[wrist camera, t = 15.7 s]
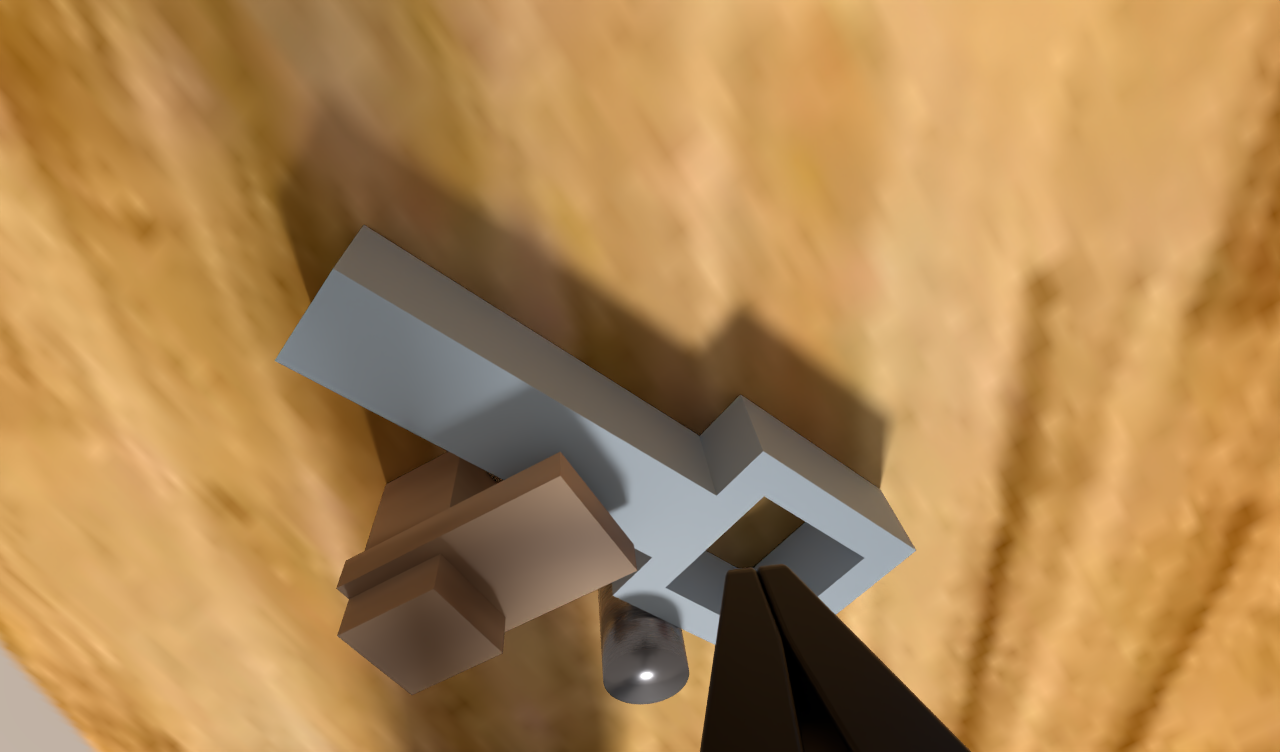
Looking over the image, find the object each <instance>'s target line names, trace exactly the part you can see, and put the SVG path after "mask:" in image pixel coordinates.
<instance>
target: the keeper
mask: <svg viewBox="0 0 1280 752" xmlns="http://www.w3.org/2000/svg"><path fill="white" fill-rule="evenodd" d="M635 571H637V564H636V556H635V548H634V544H633V543H632V542H631V540H630V539H629V538H628V536H627V535H626V534H625V533H624V531H623V530H622V529H621V528H620V526H619V525H618V524H617V523H616V521H615V520H614V519H613V517H612V516H611V515H610V514H609V512H608V511H607V510H606V509H605V507H604V506H603V505H602V504H601V502H600V501H599V500H598V499H597V497H596V496H595V495H594V493H593V492H592V491H591V490H590V488H589V487H588V486H587V485H586V483H585V482H584V481H583V480H582V478H581V477H580V476H579V475H578V473H577V472H576V471H575V469H574V468H573V467H572V466H571V464H570V463H569V462H568V461H567V459H566V458H565V457H564V456H563V454H562V453H561V452H558V453H556V454H554V455H552V456H551V457H549V458H547V459H545V460H543V461H541V462H539V463H537V464H535V465H533V466H531V467H529V468H527V469H525V470H523V471H521V472H519V473H517V474H515V475H513V476H511V477H509V478H507V479H505V480H503V481H501V482H500V483H498V484H497V483H496V482H495V481H494V480H493V479H492V478H491V477H490V476H489V474H488V473H487V472H486V471H485V470H483V469H481V468H479V467H478V466H476V465H474V464H472V463H470V462H468V461H466V460H464V459H462V458H460V457H458V456H456V455H455V454H453V453H451V452H449V451H448V452H447V453H445V454H443V455H441V456H439V457H437V458H435V459H433V460H431V461H429V462H428V463H426V464H424V465H422V466H420V467H418V468H416V469H414V470H412V471H410V472H409V473H407V474H405V475H403V476H401V477H399V478H397V479H395V480H393V481H391V482H390V483H388V484H386V486H385V489H384V492H383V495H382V498H381V501H380V505H379V508H378V511H377V514H376V517H375V520H374V523H373V526H372V529H371V532H370V536H369V539H368V542H367V545H366V548H365V551H364V552H362V553H360V554H358V555H356V556H354V557H352V558H350V559H348V560H347V561H346V562H345V565H344V568H343V571H342V574H341V576H340V579H339V582H338V585H337V588H336V589H338V590H339V591H340V592H341V593H342V594H344V595H345V596H346V597H347V598H348V599H349V601H348V604H347V607H346V610H345V613H344V616H343V620H342V623H341V626H340V629H339V632H338V635H337V636H338V637H339V638H341V639H342V640H343V641H344V642H346V643H347V644H348V645H349V646H351V647H352V648H353V649H354V650H356V651H357V652H358V653H359V654H361V655H362V656H363V657H365V658H366V659H367V660H368V661H370V662H371V663H372V664H373V665H375V666H376V667H377V668H378V669H380V670H381V671H382V672H383V673H385V674H386V675H387V676H388V677H390V678H391V679H392V680H393V681H395V682H396V683H397V684H399V685H400V686H401V687H402V688H404V689H405V690H406V691H407V692H409V693H410V694H411V695H413V694H415V693H417V692H420V691H422V690H424V689H426V688H428V687H431V686H433V685H435V684H437V683H439V682H441V681H444V680H446V679H448V678H450V677H452V676H454V675H457V674H459V673H461V672H463V671H465V670H468V669H470V668H472V667H474V666H476V665H478V664H481V663H483V662H485V661H487V660H489V659H492V658H494V657H496V656H498V655H500V654H502V653H503V645H504V633H505V632H506V631H509V630H511V629H513V628H515V627H517V626H519V625H521V624H524V623H526V622H528V621H530V620H532V619H534V618H536V617H539V616H541V615H543V614H545V613H547V612H549V611H552V610H554V609H556V608H558V607H560V606H562V605H564V604H567V603H569V602H571V601H573V600H575V599H577V598H580V597H582V596H584V595H586V594H588V593H590V592H592V591H595V590H597V589H599V588H601V587H603V586H605V585H608V584H610V583H612V582H614V581H616V580H618V579H620V578H623V577H625V576H627V575H629V574H631V573H633V572H635Z"/></svg>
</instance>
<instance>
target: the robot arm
mask: <svg viewBox="0 0 1280 752" xmlns="http://www.w3.org/2000/svg"><path fill="white" fill-rule="evenodd" d="M700 752H971V751H970V750H969V749H968V748H967V747H966V746H965V745H964V744H963V743H962V742H961V741H960V740H959V739H958V738H957V737H956V736H955V735H954V734H953V733H952V732H951V731H950V730H949V729H948V728H947V727H946V726H945V725H944V724H943V723H942V722H941V721H940V720H939V719H938V718H937V717H936V716H935V715H934V714H933V713H932V712H931V711H930V710H929V709H928V708H927V707H926V706H925V705H924V704H923V703H922V702H921V701H920V700H919V699H918V698H917V696H916V695H915V694H914V693H913V692H912V691H911V690H910V689H909V688H908V687H907V686H906V685H905V684H904V683H903V682H902V681H901V680H900V679H899V678H898V677H897V676H896V675H895V674H894V673H893V672H892V671H891V670H890V669H889V668H888V667H887V666H886V665H885V664H884V663H883V662H882V661H881V660H880V659H879V658H878V657H877V656H876V655H875V654H874V653H873V652H872V651H871V650H870V649H869V648H868V647H867V646H866V645H865V644H864V643H863V642H862V641H861V640H860V639H859V638H858V637H857V636H856V635H855V634H854V633H853V632H852V631H851V630H850V629H849V628H848V627H847V626H846V625H845V624H844V623H843V622H842V621H841V620H840V619H839V618H838V617H837V616H836V615H835V614H834V613H833V612H832V611H831V610H830V609H829V608H828V607H827V606H826V605H825V604H824V603H823V602H822V601H821V600H820V599H819V597H818V596H817V595H816V594H815V593H814V592H813V591H812V590H811V589H810V588H809V587H808V586H807V585H806V584H805V583H804V582H803V581H802V580H801V579H800V578H799V577H798V576H797V575H796V574H795V573H794V572H793V571H792V570H791V569H790V568H789V567H788V566H786V565H784V564H774V565H766V566H760V567H758V568H757V569H756V570H755V569H754V568H751V567H749V568H740V569H732V570H728V571H727V573H726V576H725V582H724V589H723V596H722V603H721V610H720V616H719V623H718V630H717V637H716V644H715V651H714V658H713V665H712V672H711V679H710V686H709V693H708V700H707V707H706V714H705V721H704V727H703V734H702V741H701V748H700Z"/></svg>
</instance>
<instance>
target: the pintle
mask: <svg viewBox="0 0 1280 752" xmlns="http://www.w3.org/2000/svg"><path fill="white" fill-rule="evenodd" d="M598 599H599V615H600V632H601V649H602V666H603V682H604V686H605V689H606V690H607V692H608V693H609V694H610V695H611V696H613V697H614V698H616V699H618V700H620V701H623V702H626V703H631V704H650V703H655V702H659V701H663V700H665V699H668V698H670V697H671V696H673V695H675V694H676V693H678V692H679V691H680V690H681V689H682V688H683V687H684V686H685V684H686V682H687V680H688V677H689V668H688V662H687V657H686V651H685V645H684V640H683V634H682V629H681V628H679V627H677V626H675V625H673V624H671V623H669V622H667V621H665V620H663V619H661V618H658V617H656V616H654V615H652V614H650V613H648V612H646V611H644V610H642V609H640V608H638V607H636V606H633V605H631V604H629V603H627V602H625V601H623V600H621V599H619V598H617V597H615V596H613V594H612V583H610V584H608V585H605V586H603V587H601V588H599V589H598Z"/></svg>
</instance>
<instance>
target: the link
mask: <svg viewBox="0 0 1280 752" xmlns="http://www.w3.org/2000/svg"><path fill="white" fill-rule="evenodd" d="M275 361H276V362H278V363H280V364H282V365H284V366H286V367H288V368H290V369H291V370H293V371H295V372H297V373H299V374H301V375H303V376H305V377H307V378H309V379H311V380H313V381H315V382H316V383H318V384H320V385H322V386H324V387H326V388H328V389H330V390H332V391H334V392H336V393H338V394H339V395H341V396H343V397H345V398H347V399H349V400H351V401H353V402H355V403H357V404H359V405H361V406H362V407H364V408H366V409H368V410H370V411H372V412H374V413H376V414H378V415H380V416H382V417H384V418H385V419H387V420H389V421H391V422H393V423H395V424H397V425H399V426H401V427H403V428H405V429H407V430H409V431H410V432H412V433H414V434H416V435H418V436H420V437H422V438H424V439H426V440H428V441H430V442H432V443H433V444H435V445H437V446H439V447H441V448H443V449H445V450H447V451H449V452H451V453H453V454H455V455H456V456H458V457H460V458H462V459H464V460H466V461H468V462H470V463H472V464H474V465H476V466H478V467H479V468H481V469H483V470H485V471H487V472H489V473H491V474H493V475H495V476H497V477H499V478H501V479H503V480H505V479H507V478H509V477H511V476H513V475H515V474H517V473H519V472H521V471H523V470H525V469H527V468H529V467H531V466H533V465H535V464H537V463H539V462H541V461H543V460H545V459H547V458H549V457H551V456H552V455H554V454H556V453H558V452H561V453H562V454H563V456H564V457H565V458H566V459H567V461H568V462H569V463H570V464H571V466H572V467H573V468H574V469H575V471H576V472H577V473H578V475H579V476H580V477H581V478H582V480H583V481H584V482H585V483H586V485H587V486H588V487H589V488H590V490H591V491H592V492H593V493H594V495H595V496H596V497H597V499H598V500H599V501H600V502H601V504H602V505H603V506H604V507H605V509H606V510H607V511H608V512H609V514H610V515H611V516H612V517H613V519H614V520H615V521H616V523H617V524H618V525H619V526H620V528H621V529H622V530H623V531H624V533H625V534H626V535H627V536H628V538H629V539H630V540H631V542H632V543H633V544H634V548H635V556H636V564H637V571H635V572H633V573H631V574H629V575H627V576H625V577H623V578H620V579H618V580H616V581H614V582H612V594H613V596H615V597H617V598H619V599H621V600H623V601H625V602H627V603H629V604H631V605H633V606H636V607H638V608H640V609H642V610H644V611H646V612H648V613H650V614H652V615H654V616H656V617H658V618H661V619H663V620H665V621H667V622H669V623H671V624H673V625H675V626H677V627H679V628H681V629H683V630H685V631H688V632H690V633H692V634H694V635H696V636H698V637H700V638H702V639H704V640H706V641H708V642H710V643H713V644H716V637H717V630H718V623H719V616H720V610H721V603H722V596H723V589H724V582H725V576H726V573H727V571H728V570H732V569H738V568H736V567H734V566H733V565H731V564H729V563H727V562H725V561H723V560H722V559H720V558H718V557H716V556H714V555H712V554H711V553H709V552H707V551H705V550H706V549H708V548H709V547H710V546H711V545H712V544H713V543H714V542H715V541H716V540H717V539H718V538H719V537H720V536H722V535H723V534H724V533H725V532H726V531H727V530H728V529H729V528H730V527H731V526H732V525H733V524H735V523H736V522H737V521H738V520H739V519H740V518H741V517H742V516H743V515H744V514H745V513H746V512H747V511H749V510H750V509H751V508H752V507H753V506H754V505H755V504H756V503H757V502H758V501H759V500H760V499H762V498H763V497H764V496H765V497H766V498H768V499H769V500H771V501H773V502H774V503H776V504H778V505H779V506H781V507H782V508H784V509H786V510H787V511H789V512H791V513H792V514H794V515H795V516H797V517H799V518H800V519H802V520H804V521H805V523H804V524H802V525H801V526H800V527H799V528H798V529H797V530H796V531H795V532H793V533H792V534H791V535H790V536H789V537H788V538H787V539H785V540H784V541H783V542H782V543H781V544H780V545H779V546H778V547H776V548H775V549H774V550H773V551H772V552H771V553H770V554H768V555H767V556H766V557H765V558H764V559H763V560H762V561H761V562H759V563H758V564H757V565H756V566H755V567H754V569H755V570H756V569H757V568H758V567H760V566H766V565H774V564H784V565H786V566H788V567H789V568H790V569H791V570H792V571H793V572H794V573H795V574H796V575H797V576H798V577H799V578H800V579H801V580H802V581H803V582H804V583H805V584H806V585H807V586H808V587H809V588H810V589H811V590H812V591H813V592H814V593H815V594H816V595H817V596H818V597H819V599H820V600H821V601H822V602H823V603H824V604H825V605H826V606H827V607H828V608H829V609H830V610H831V611H832V612H833V613H834V614H835V615H836V614H837V613H838V612H840V611H841V610H842V609H843V608H845V607H846V606H847V605H849V604H850V603H851V602H852V601H854V600H855V599H856V598H857V597H859V596H860V595H861V594H862V593H864V592H865V591H866V590H867V589H869V588H870V587H871V586H872V585H874V584H875V583H876V582H877V581H879V580H880V579H881V578H882V577H884V576H885V575H886V574H887V573H889V572H890V571H891V570H892V569H894V568H895V567H896V566H897V565H899V564H900V563H901V562H902V561H904V560H905V559H906V558H907V557H909V556H910V555H911V554H912V553H914V552H915V551H916V549H915V547H914V546H913V544H912V542H911V541H910V539H909V537H908V535H907V534H906V532H905V530H904V529H903V527H902V525H901V524H900V522H899V520H898V518H897V517H896V515H895V513H894V512H893V510H892V508H891V507H890V505H889V503H888V501H887V500H886V498H885V496H884V495H883V493H882V491H881V490H880V489H879V488H877V487H876V486H874V485H873V484H871V483H870V482H868V481H867V480H866V479H864V478H863V477H861V476H860V475H858V474H857V473H855V472H854V471H852V470H851V469H849V468H848V467H846V466H845V465H843V464H842V463H841V462H839V461H838V460H836V459H835V458H833V457H832V456H830V455H829V454H827V453H826V452H824V451H823V450H821V449H820V448H819V447H817V446H816V445H814V444H813V443H811V442H810V441H808V440H807V439H805V438H804V437H802V436H801V435H799V434H798V433H796V432H795V431H794V430H792V429H791V428H789V427H788V426H786V425H785V424H783V423H782V422H780V421H779V420H777V419H776V418H774V417H773V416H771V415H770V414H769V413H767V412H766V411H764V410H763V409H761V408H760V407H758V406H757V405H755V404H754V403H752V402H751V401H749V400H748V399H747V398H745V397H744V396H742V395H741V394H740V395H739V396H738V397H737V398H736V399H735V401H734V402H733V403H732V404H731V405H730V406H729V407H728V408H727V409H726V410H725V411H724V412H723V413H722V414H721V415H720V416H719V417H718V418H717V419H716V420H715V421H714V422H713V423H712V424H711V425H710V426H709V427H708V428H707V429H706V430H705V431H704V432H703V433H702V434H701V435H700V436H699V435H697V434H696V433H694V432H693V431H691V430H689V429H688V428H686V427H685V426H683V425H681V424H680V423H678V422H677V421H675V420H673V419H672V418H670V417H669V416H667V415H666V414H664V413H662V412H661V411H659V410H658V409H656V408H654V407H653V406H651V405H650V404H648V403H646V402H645V401H643V400H642V399H640V398H638V397H637V396H635V395H634V394H632V393H631V392H629V391H627V390H626V389H624V388H623V387H621V386H619V385H618V384H616V383H615V382H613V381H611V380H610V379H608V378H607V377H605V376H604V375H602V374H600V373H599V372H597V371H596V370H594V369H592V368H591V367H589V366H588V365H586V364H584V363H583V362H581V361H580V360H578V359H577V358H575V357H573V356H572V355H570V354H569V353H567V352H565V351H564V350H562V349H561V348H559V347H557V346H556V345H554V344H553V343H551V342H550V341H548V340H546V339H545V338H543V337H542V336H540V335H538V334H537V333H535V332H534V331H532V330H530V329H529V328H527V327H526V326H524V325H522V324H521V323H519V322H518V321H516V320H515V319H513V318H511V317H510V316H508V315H507V314H505V313H503V312H502V311H500V310H499V309H497V308H495V307H494V306H492V305H491V304H489V303H488V302H486V301H484V300H483V299H481V298H480V297H478V296H476V295H475V294H473V293H472V292H470V291H468V290H467V289H465V288H464V287H462V286H461V285H459V284H457V283H456V282H454V281H453V280H451V279H449V278H448V277H446V276H445V275H443V274H441V273H440V272H438V271H437V270H435V269H434V268H432V267H430V266H429V265H427V264H426V263H424V262H422V261H421V260H419V259H418V258H416V257H414V256H413V255H411V254H410V253H408V252H407V251H405V250H403V249H402V248H400V247H399V246H397V245H395V244H394V243H392V242H391V241H389V240H387V239H386V238H384V237H383V236H381V235H379V234H378V233H376V232H375V231H373V230H372V229H370V228H368V227H367V226H365V225H363V226H362V228H361V229H360V231H359V232H358V234H357V235H356V236H355V238H354V239H353V241H352V242H351V244H350V245H349V246H348V248H347V249H346V251H345V252H344V254H343V255H342V256H341V258H340V259H339V261H338V262H337V264H336V265H335V267H334V268H333V269H332V271H331V273H330V274H329V276H328V277H327V279H326V280H325V282H324V284H323V285H322V287H321V288H320V290H319V292H318V293H317V295H316V296H315V298H314V299H313V301H312V303H311V304H310V306H309V307H308V309H307V310H306V312H305V314H304V315H303V317H302V318H301V320H300V322H299V323H298V325H297V326H296V328H295V329H294V331H293V333H292V334H291V336H290V337H289V339H288V340H287V342H286V344H285V345H284V347H283V348H282V350H281V351H280V353H279V355H278V356H277V358H276V359H275Z"/></svg>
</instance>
